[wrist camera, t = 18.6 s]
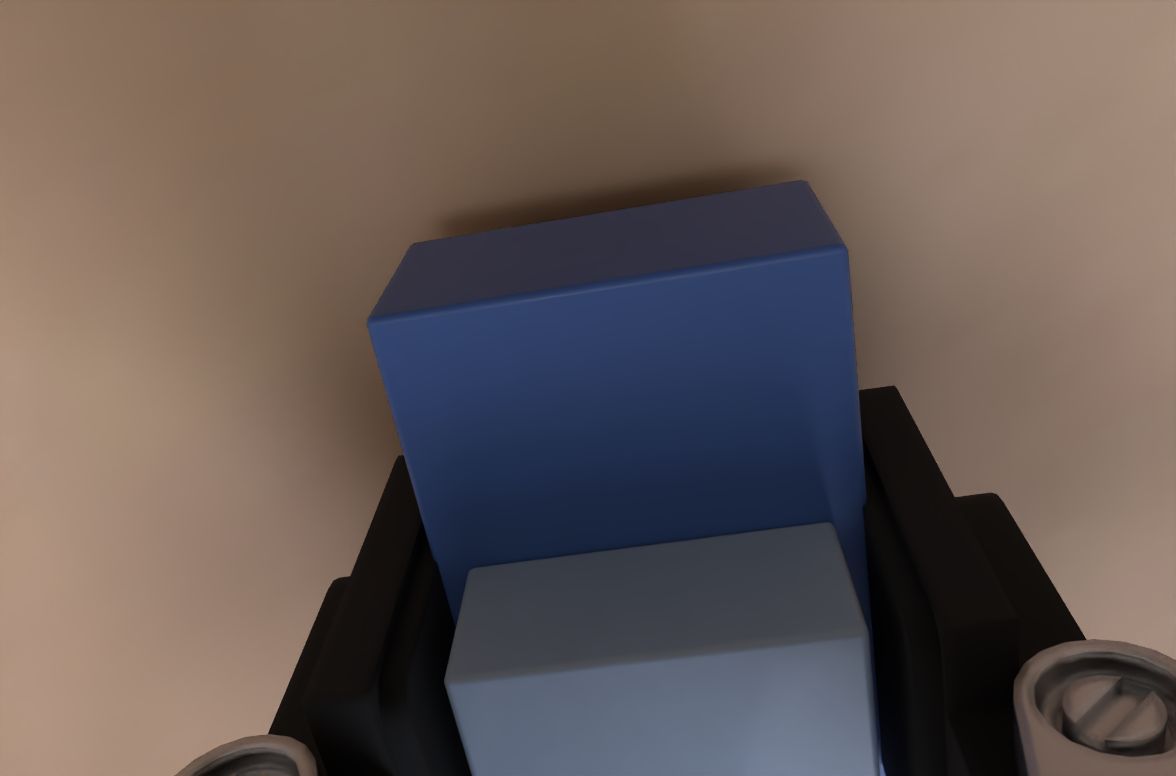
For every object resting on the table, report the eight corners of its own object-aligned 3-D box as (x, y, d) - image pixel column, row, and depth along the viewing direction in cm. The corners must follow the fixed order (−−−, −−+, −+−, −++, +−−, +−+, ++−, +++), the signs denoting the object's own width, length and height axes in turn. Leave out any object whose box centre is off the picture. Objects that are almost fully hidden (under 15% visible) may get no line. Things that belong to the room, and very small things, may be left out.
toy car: (852, 746, 14) (938, 1072, 10) (559, 778, 14) (535, 1104, 10) (797, 161, 10) (893, 319, 7) (419, 224, 11) (312, 404, 7)
